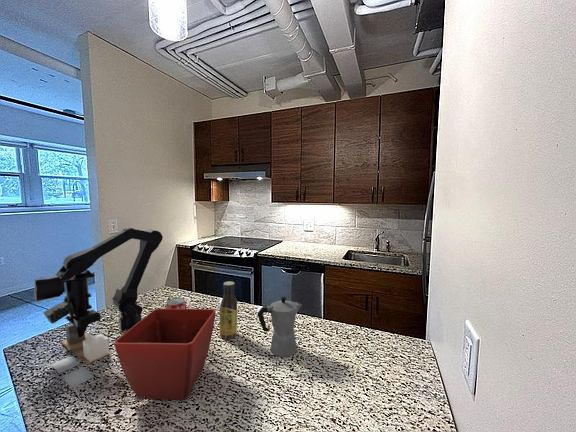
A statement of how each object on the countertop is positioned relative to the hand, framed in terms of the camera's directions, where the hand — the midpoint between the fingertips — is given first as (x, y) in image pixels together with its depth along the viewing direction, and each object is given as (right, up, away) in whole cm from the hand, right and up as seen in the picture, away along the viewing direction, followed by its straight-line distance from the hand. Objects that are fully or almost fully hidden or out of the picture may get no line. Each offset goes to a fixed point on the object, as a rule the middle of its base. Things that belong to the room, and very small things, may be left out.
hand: (80, 336), depth 88 cm
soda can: (+30, -3, +7) cm, 31 cm away
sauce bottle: (+49, -3, +7) cm, 50 cm away
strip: (+4, -3, -2) cm, 5 cm away
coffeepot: (+68, -4, -2) cm, 69 cm away
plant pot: (+39, -5, -17) cm, 43 cm away
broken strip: (+8, -4, -13) cm, 16 cm away
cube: (+10, -3, -7) cm, 12 cm away
